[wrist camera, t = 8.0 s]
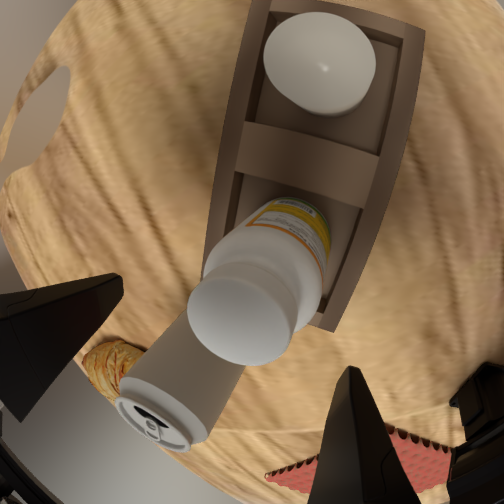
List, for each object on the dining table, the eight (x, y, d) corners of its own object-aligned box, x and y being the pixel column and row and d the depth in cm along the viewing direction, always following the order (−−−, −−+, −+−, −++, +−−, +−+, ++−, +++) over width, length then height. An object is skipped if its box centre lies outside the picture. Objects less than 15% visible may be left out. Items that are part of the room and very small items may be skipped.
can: (260, 313, 23) (193, 430, 12) (251, 370, 26) (200, 469, 16) (182, 289, 25) (93, 375, 14) (185, 346, 28) (120, 427, 17)
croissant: (189, 335, 32) (142, 346, 25) (202, 409, 31) (161, 433, 23) (96, 334, 40) (58, 338, 33) (107, 389, 39) (71, 398, 32)
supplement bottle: (272, 282, 20) (215, 383, 11) (237, 215, 19) (146, 283, 10) (344, 258, 17) (332, 368, 9) (310, 182, 16) (266, 233, 8)
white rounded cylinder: (373, 57, 12) (382, 26, 7) (358, 128, 14) (364, 121, 10) (295, 39, 13) (274, 6, 8) (280, 107, 15) (253, 96, 11)
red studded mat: (266, 470, 38) (262, 479, 36) (382, 417, 24) (381, 431, 22) (370, 501, 36) (369, 508, 34) (481, 453, 22) (482, 463, 20)
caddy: (414, 45, 11) (425, 30, 9) (336, 308, 20) (333, 332, 18) (267, 13, 13) (253, -5, 11) (217, 266, 22) (199, 284, 20)
